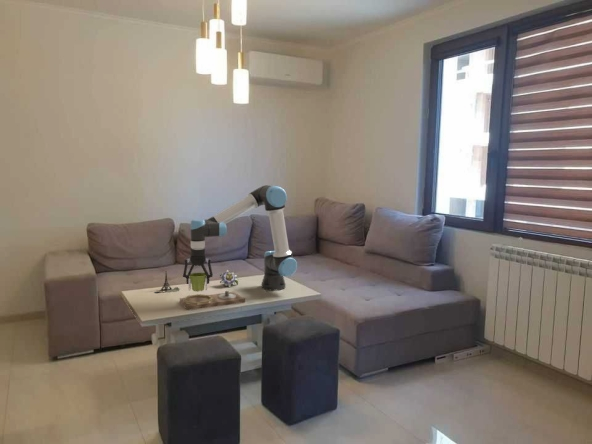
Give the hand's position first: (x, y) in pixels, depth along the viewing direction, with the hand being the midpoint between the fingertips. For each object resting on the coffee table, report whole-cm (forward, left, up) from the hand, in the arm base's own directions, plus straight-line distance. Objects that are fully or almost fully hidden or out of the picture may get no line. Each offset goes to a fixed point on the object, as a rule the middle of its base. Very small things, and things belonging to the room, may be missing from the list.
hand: (198, 289), depth 249 cm
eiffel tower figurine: (+22, -30, -9) cm, 38 cm away
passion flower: (-16, -39, -8) cm, 43 cm away
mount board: (-8, -3, -8) cm, 11 cm away
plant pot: (0, 0, 0) cm, 0 cm away
